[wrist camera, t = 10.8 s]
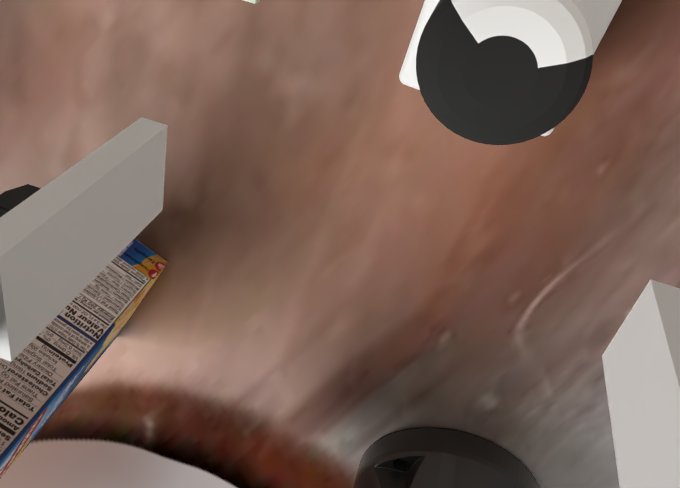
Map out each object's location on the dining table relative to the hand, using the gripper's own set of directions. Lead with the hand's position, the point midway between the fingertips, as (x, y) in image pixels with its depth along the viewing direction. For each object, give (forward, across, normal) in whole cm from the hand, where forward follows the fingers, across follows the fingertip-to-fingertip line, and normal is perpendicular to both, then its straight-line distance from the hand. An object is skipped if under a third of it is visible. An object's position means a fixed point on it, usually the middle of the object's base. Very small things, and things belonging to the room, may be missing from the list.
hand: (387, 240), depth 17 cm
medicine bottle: (+20, +2, +3) cm, 21 cm away
